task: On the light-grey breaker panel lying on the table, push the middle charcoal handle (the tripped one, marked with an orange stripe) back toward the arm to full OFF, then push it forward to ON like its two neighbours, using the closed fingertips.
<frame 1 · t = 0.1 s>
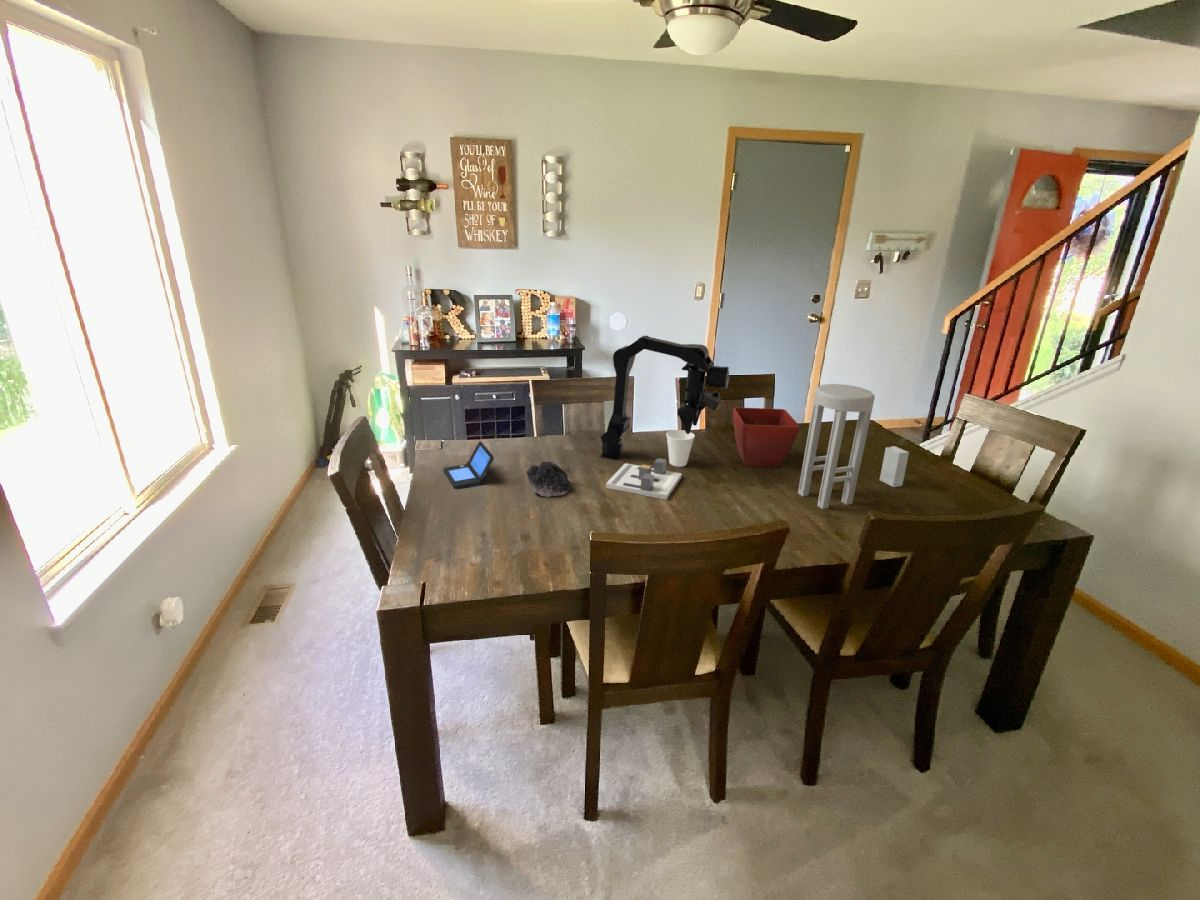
hand: (691, 429, 191), 15 cm above the table, fingers open, 9 cm apart
breaker 1: (647, 482, 177), point 4 cm above the table, slide at 3.0 cm
plant pot 2: (759, 460, 206), on the table
breaker 2: (660, 466, 189), point 4 cm above the table, slide at 3.0 cm
cup: (678, 464, 201), on the table
panel: (644, 482, 185), on the table
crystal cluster: (549, 489, 180), on the table
handheld game console: (468, 477, 186), on the table
skincare box: (889, 483, 190), on the table
stool: (824, 499, 178), on the table
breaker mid: (645, 472, 184), point 4 cm above the table, slide at 0.0 cm
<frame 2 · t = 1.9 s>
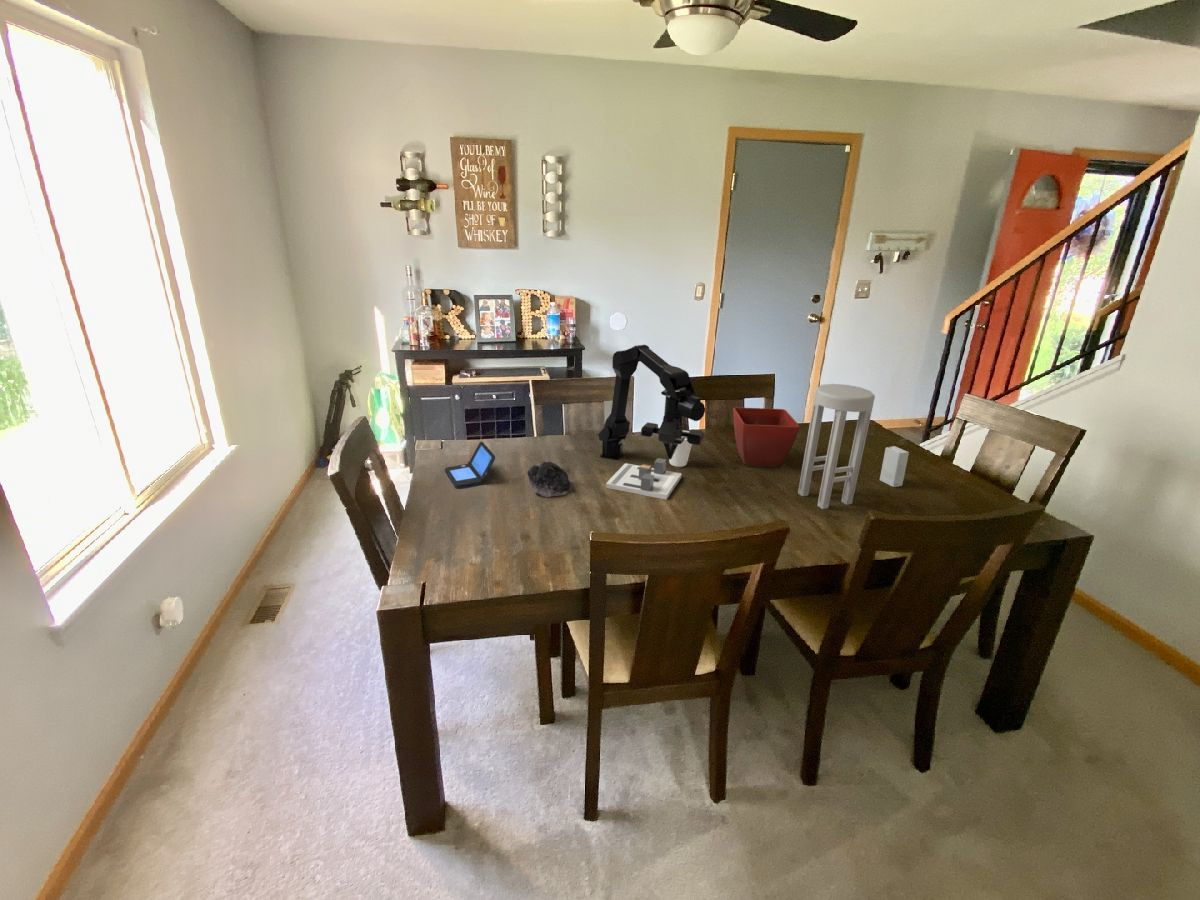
hand: (670, 458, 179), 10 cm above the table, fingers closed
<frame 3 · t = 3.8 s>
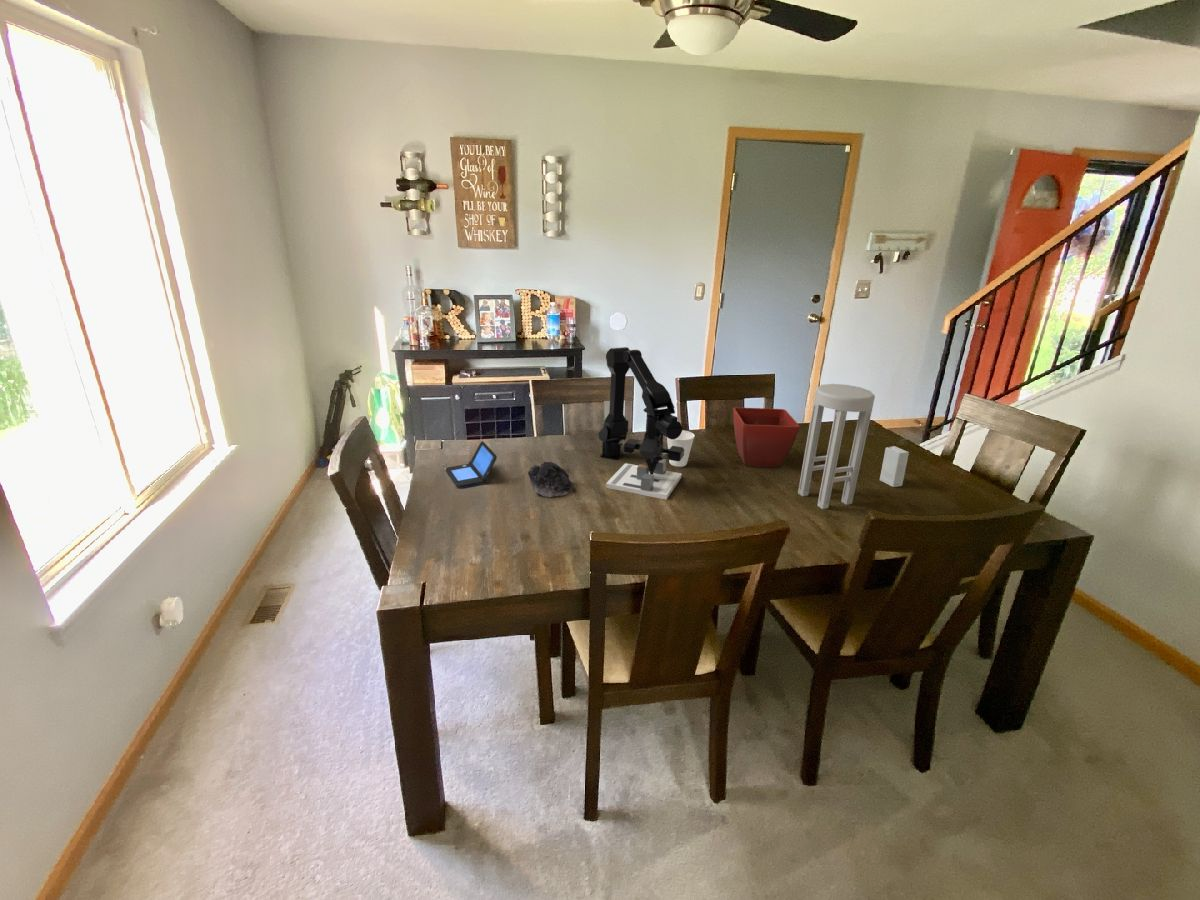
hand: (651, 474, 183), 3 cm above the table, fingers closed
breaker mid: (643, 471, 184), point 4 cm above the table, slide at -0.7 cm, touching gripper
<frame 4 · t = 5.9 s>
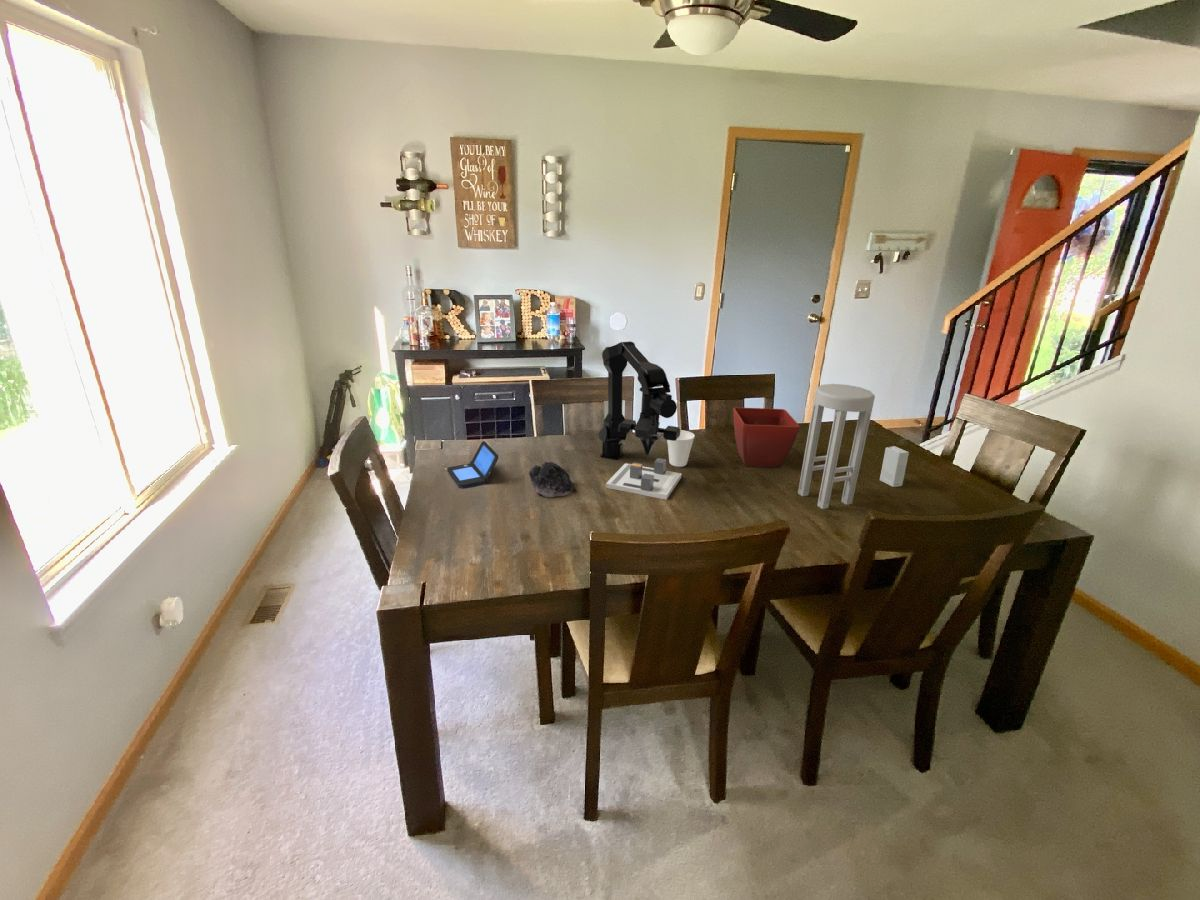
hand: (647, 454, 181), 10 cm above the table, fingers closed
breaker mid: (636, 470, 185), point 4 cm above the table, slide at -3.1 cm
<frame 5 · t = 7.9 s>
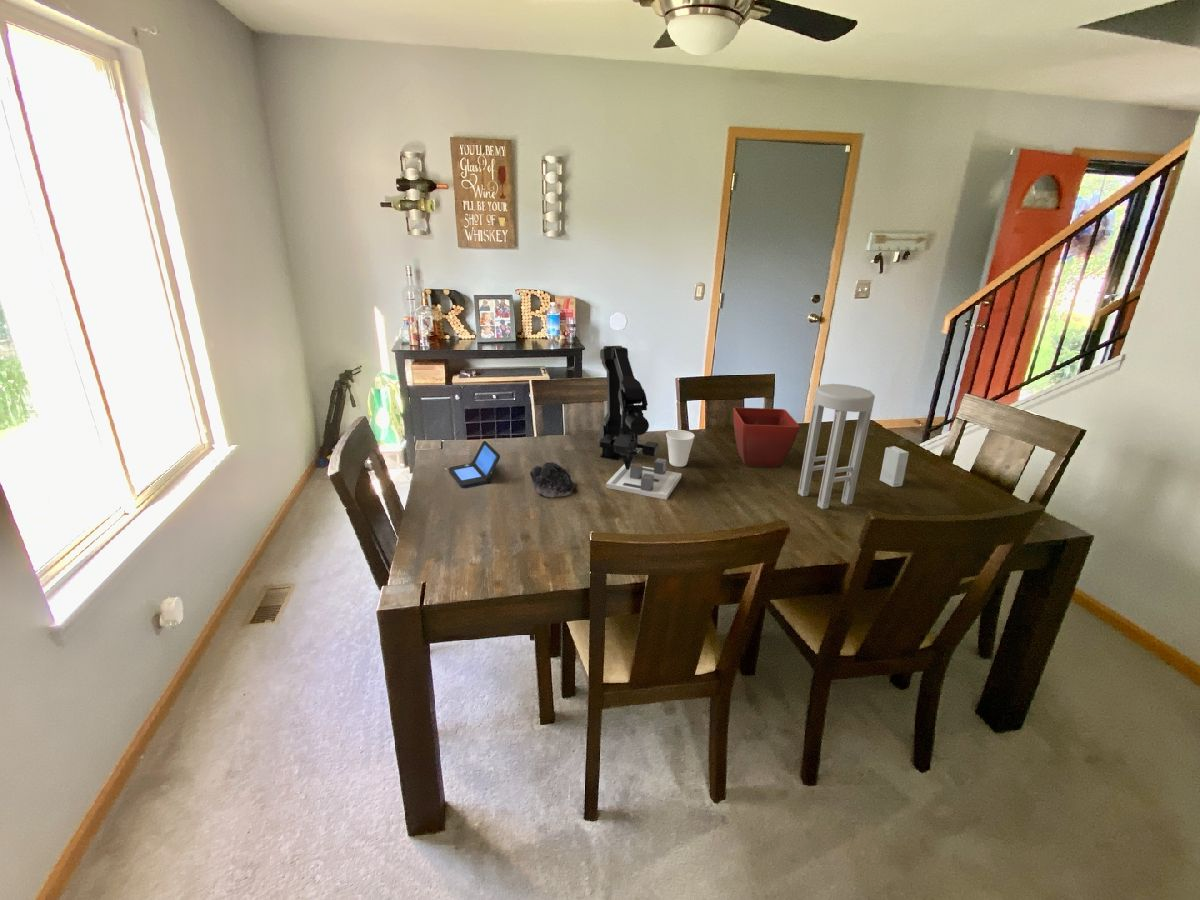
hand: (627, 469, 186), 4 cm above the table, fingers closed
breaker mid: (636, 470, 185), point 4 cm above the table, slide at -3.0 cm, touching gripper
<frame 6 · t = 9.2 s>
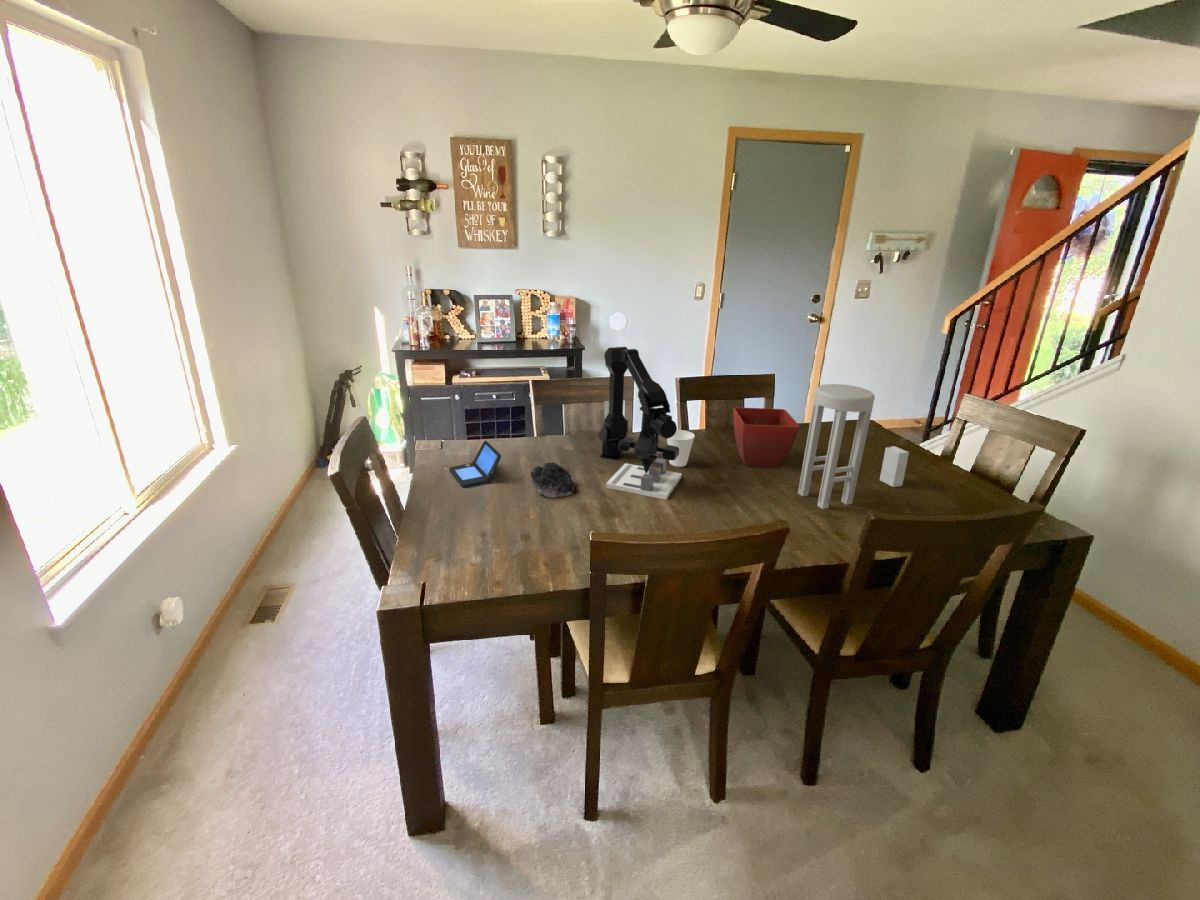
hand: (646, 472, 184), 4 cm above the table, fingers closed
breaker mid: (654, 474, 183), point 4 cm above the table, slide at 3.3 cm, touching gripper
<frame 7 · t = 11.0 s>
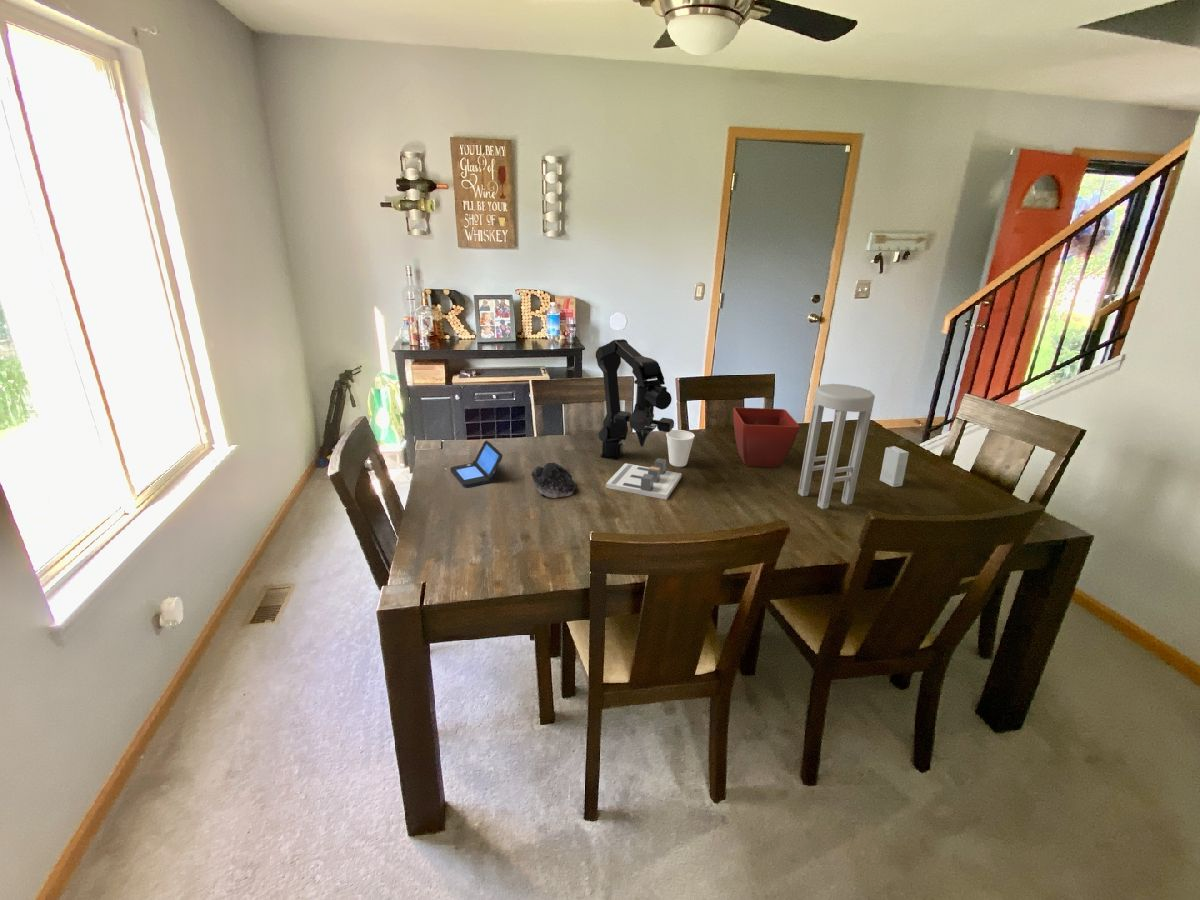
hand: (642, 446, 186), 11 cm above the table, fingers closed
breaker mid: (654, 474, 183), point 4 cm above the table, slide at 3.1 cm
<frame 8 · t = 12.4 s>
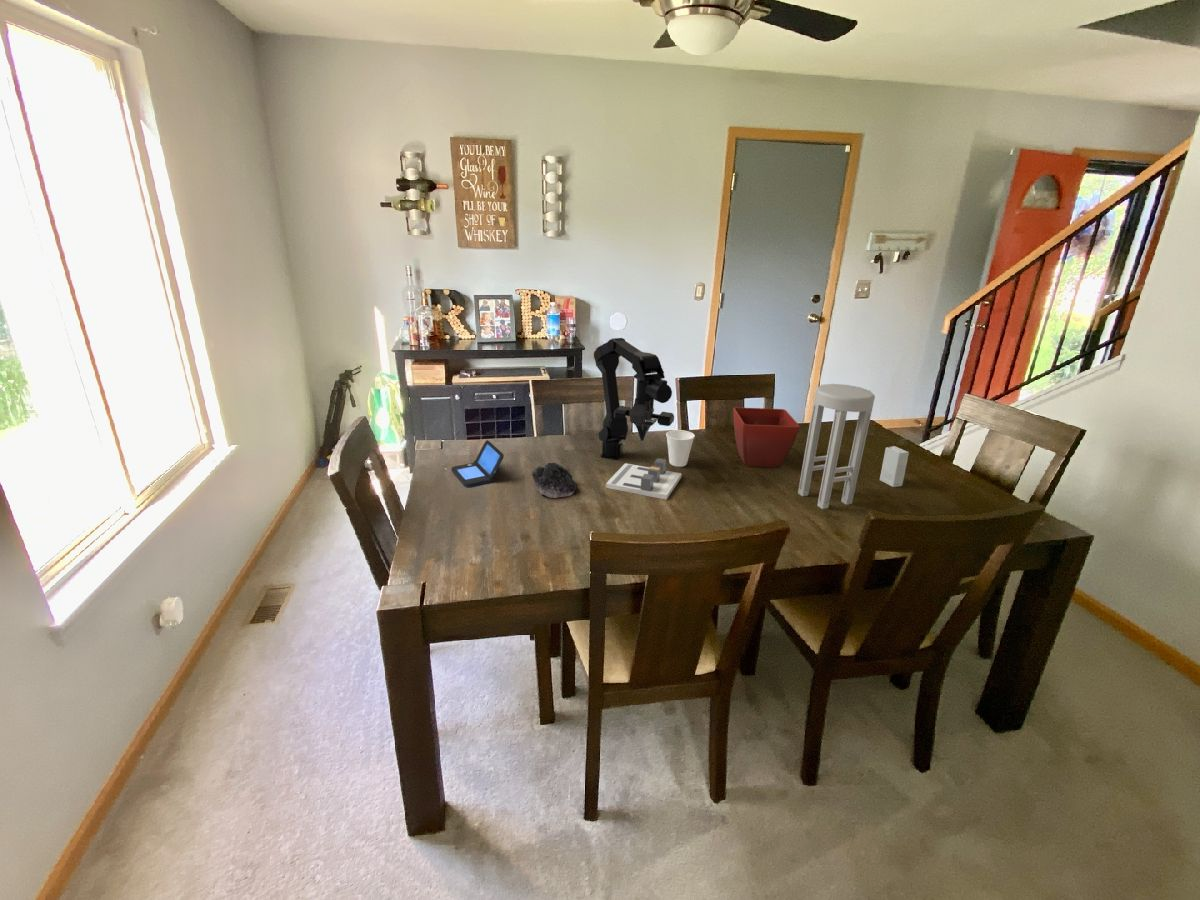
hand: (642, 440, 186), 12 cm above the table, fingers closed
at the end: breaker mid slide at 3.1 cm; breaker 2 slide at 3.0 cm; breaker 1 slide at 3.0 cm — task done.
